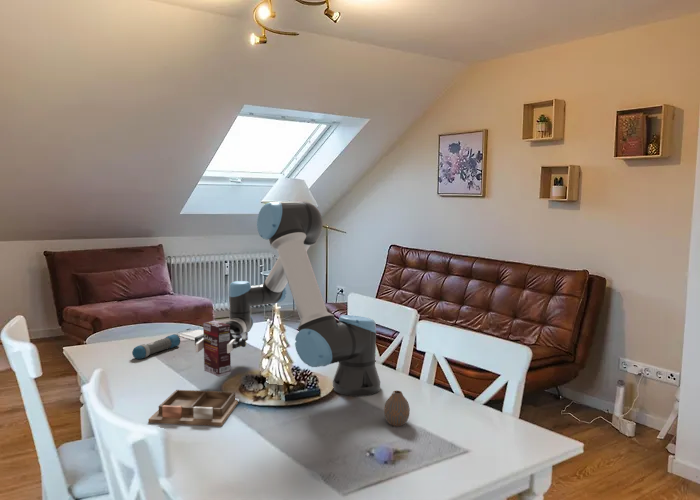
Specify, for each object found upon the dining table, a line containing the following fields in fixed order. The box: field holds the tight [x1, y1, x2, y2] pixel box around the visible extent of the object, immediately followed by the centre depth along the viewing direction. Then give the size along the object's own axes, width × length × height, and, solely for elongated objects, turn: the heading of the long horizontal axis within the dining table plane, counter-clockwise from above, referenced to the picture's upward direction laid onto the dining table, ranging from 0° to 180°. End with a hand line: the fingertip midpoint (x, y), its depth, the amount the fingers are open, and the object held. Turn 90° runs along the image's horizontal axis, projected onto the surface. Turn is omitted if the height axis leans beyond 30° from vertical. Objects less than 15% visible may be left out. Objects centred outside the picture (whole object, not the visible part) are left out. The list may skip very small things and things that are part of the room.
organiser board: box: [147, 389, 239, 427], centre depth 163 cm, size 20×18×4 cm
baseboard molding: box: [176, 327, 242, 347], centre depth 239 cm, size 31×3×12 cm
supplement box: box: [202, 320, 232, 378], centre depth 182 cm, size 9×5×16 cm, turn 45°
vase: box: [383, 390, 411, 427], centre depth 157 cm, size 7×7×9 cm
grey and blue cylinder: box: [131, 333, 181, 360], centre depth 221 cm, size 5×22×5 cm, turn 156°
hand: (212, 348), depth 177 cm, fingers closed on supplement box, 9 cm apart
